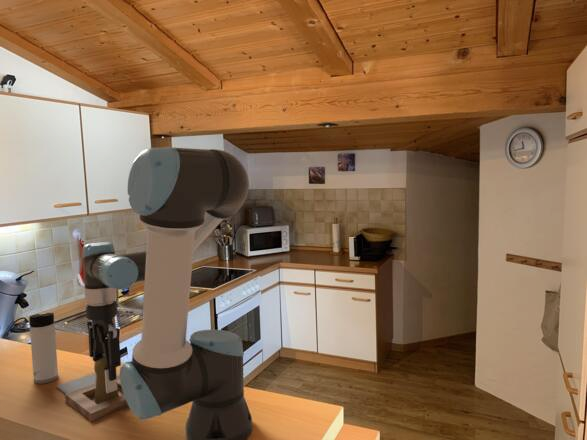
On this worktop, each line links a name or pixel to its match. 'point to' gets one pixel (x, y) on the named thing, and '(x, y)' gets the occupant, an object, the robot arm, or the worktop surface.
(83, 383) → the grey mat
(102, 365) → the cork
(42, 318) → the travel mug
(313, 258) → the worktop surface
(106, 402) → the walnut holder
